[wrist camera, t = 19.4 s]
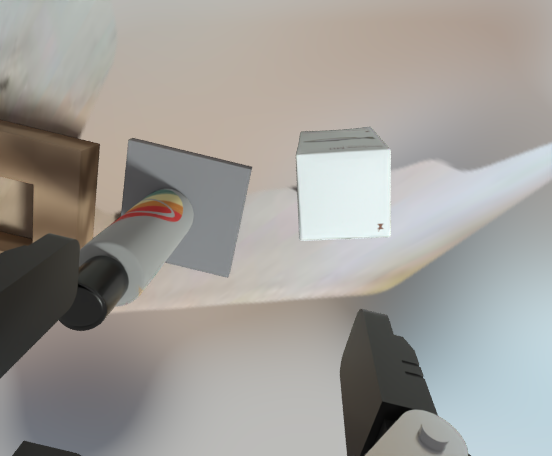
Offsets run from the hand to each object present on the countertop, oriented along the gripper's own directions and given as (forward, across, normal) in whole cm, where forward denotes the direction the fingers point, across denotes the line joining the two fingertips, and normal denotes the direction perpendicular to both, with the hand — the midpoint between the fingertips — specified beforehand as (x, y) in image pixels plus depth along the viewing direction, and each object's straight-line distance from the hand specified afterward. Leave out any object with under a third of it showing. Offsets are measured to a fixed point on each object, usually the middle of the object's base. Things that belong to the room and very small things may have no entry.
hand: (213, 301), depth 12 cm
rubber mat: (+34, +9, +11) cm, 37 cm away
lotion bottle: (+33, +10, +11) cm, 36 cm away
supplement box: (+34, -6, +2) cm, 35 cm away
